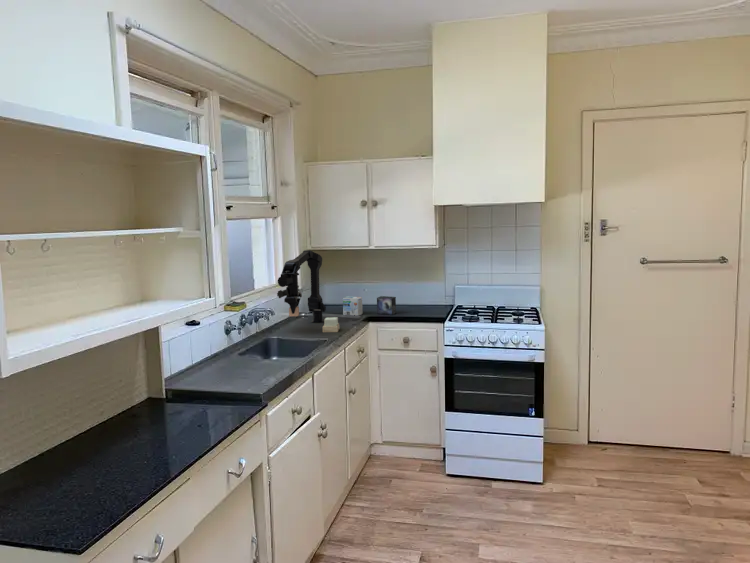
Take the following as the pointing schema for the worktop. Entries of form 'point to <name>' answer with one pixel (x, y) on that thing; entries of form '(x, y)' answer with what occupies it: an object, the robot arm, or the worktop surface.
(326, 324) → the tower top
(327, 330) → the tower base
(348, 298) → the light bulb box
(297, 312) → the terracotta cube
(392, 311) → the small box
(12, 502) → the worktop surface
